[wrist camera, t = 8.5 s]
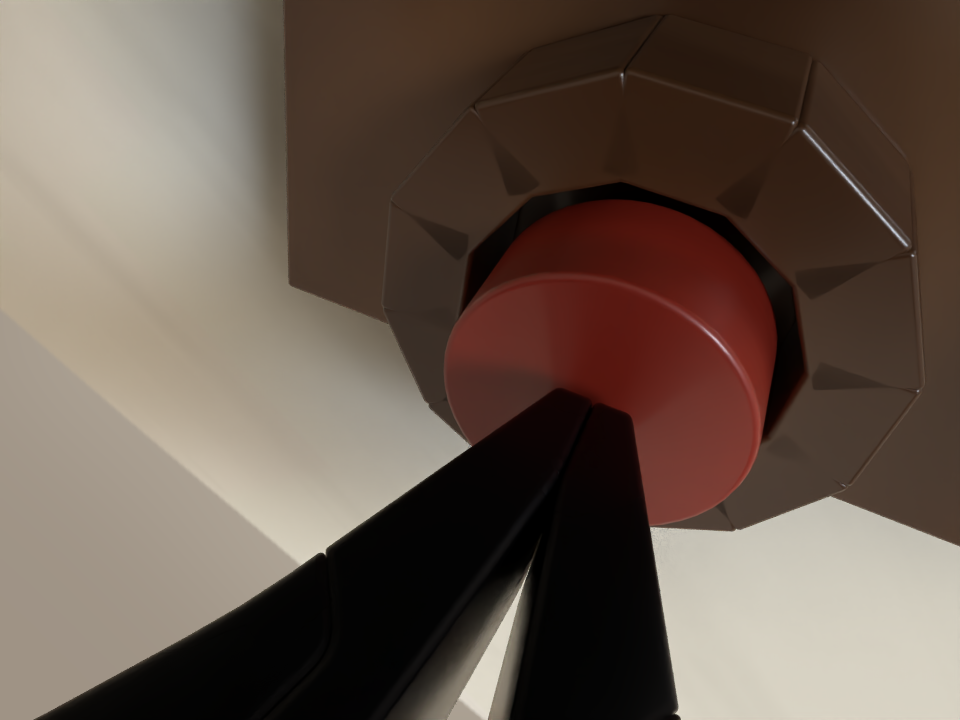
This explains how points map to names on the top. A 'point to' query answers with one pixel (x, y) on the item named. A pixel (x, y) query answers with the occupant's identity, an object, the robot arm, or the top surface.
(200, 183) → the top surface
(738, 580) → the top surface
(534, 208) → the control block
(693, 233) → the button
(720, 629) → the top surface
